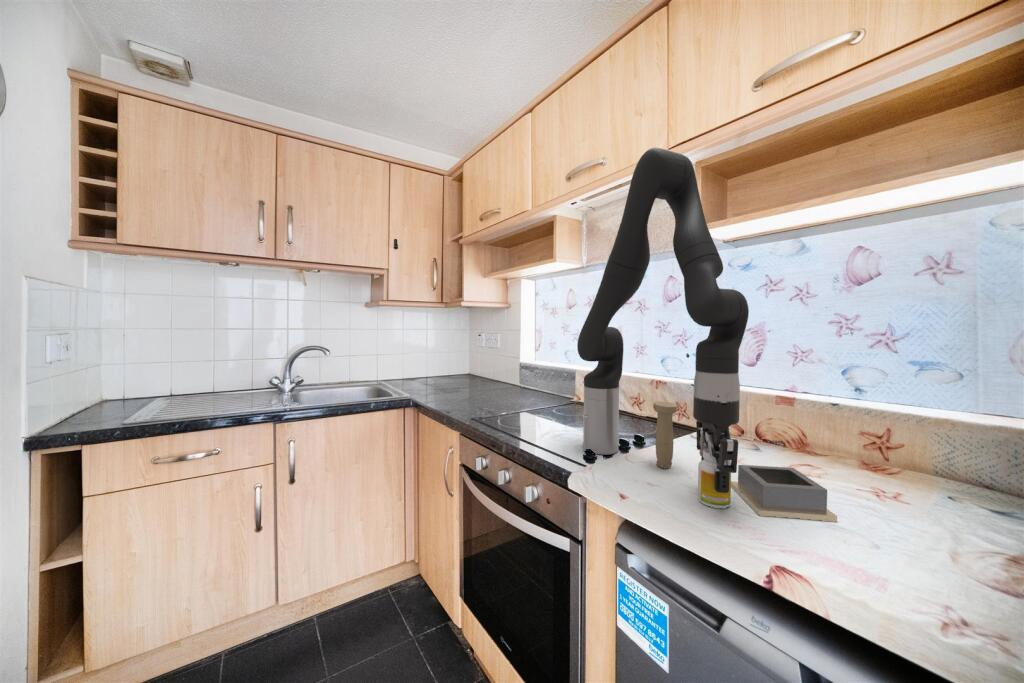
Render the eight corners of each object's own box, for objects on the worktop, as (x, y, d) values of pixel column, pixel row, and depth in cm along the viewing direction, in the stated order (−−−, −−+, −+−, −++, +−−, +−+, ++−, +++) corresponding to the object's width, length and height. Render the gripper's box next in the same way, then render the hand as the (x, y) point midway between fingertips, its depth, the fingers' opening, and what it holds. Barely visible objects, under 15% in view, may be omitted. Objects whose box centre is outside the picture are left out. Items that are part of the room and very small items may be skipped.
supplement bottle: (736, 510, 66) (737, 457, 65) (705, 508, 66) (706, 456, 66) (721, 496, 71) (722, 447, 71) (693, 495, 72) (694, 446, 71)
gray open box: (759, 515, 64) (760, 487, 63) (730, 486, 75) (730, 462, 75) (837, 521, 62) (838, 493, 61) (794, 490, 73) (795, 466, 73)
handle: (670, 462, 89) (671, 401, 89) (679, 472, 83) (680, 407, 82) (649, 461, 90) (650, 401, 89) (657, 471, 83) (658, 406, 83)
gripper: (683, 388, 76) (682, 467, 76) (708, 402, 61) (706, 499, 62) (722, 389, 74) (720, 470, 75) (757, 404, 60) (754, 503, 61)
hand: (714, 483), depth 68 cm, fingers open, 6 cm apart
